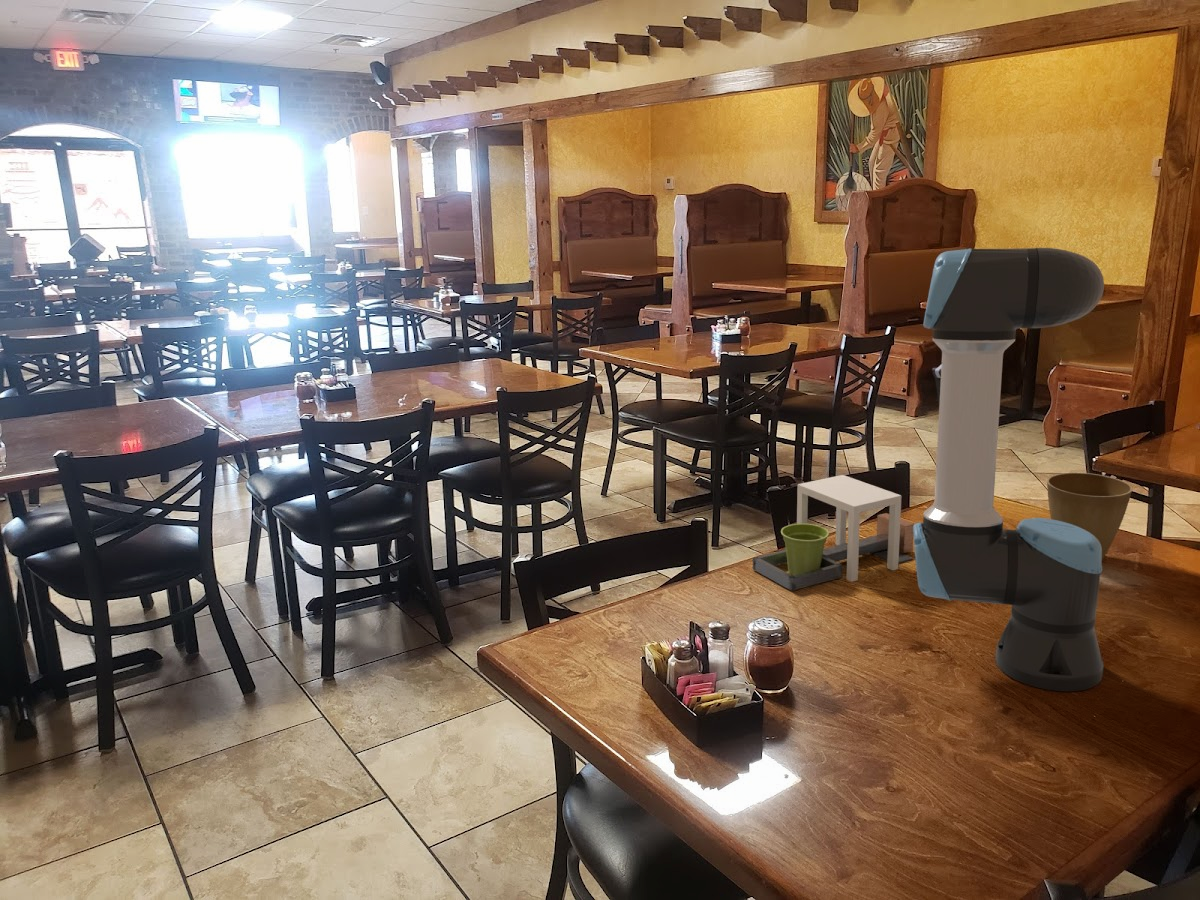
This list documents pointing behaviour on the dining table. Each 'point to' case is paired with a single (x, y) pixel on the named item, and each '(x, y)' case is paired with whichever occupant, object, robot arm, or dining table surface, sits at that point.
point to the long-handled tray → (832, 557)
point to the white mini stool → (854, 515)
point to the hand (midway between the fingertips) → (954, 444)
